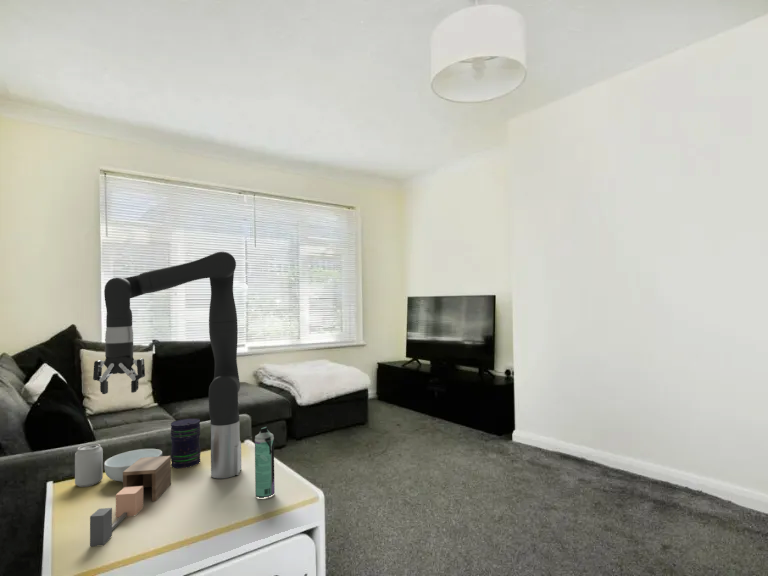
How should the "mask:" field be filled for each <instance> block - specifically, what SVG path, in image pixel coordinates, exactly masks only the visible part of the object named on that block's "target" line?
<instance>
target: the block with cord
mask: <svg viewBox="0 0 768 576" xmlns="http://www.w3.org/2000/svg"><path fill="white" fill-rule="evenodd" d="M143 509H144V487H143V486H135V487H124V488H123V487H122V489H121V490H119V491H118V492H117V493H116V494H115V518H117V519H116V520H115V521H114V522H113V507H105V508H104V507H103V508H98V509H97V510H96V511H95V512H94V513H92V514H91V515H90V516H89V547H90V546H91V547H98V546H97V545H103V546H104V545H105V544H106V543H108V541H109V540H110V539H111V538H112V537H113V531H114V529H115V528H116V527H117V526H118V525H120V524H121V522H122V521H124V519H125V518H126V516H127V517H135V516H134V515H136V514H137V513H138V512H139V513H140V512H141V511H142V510H143ZM139 513H138V514H139ZM138 514H137V515H138ZM137 515H136V516H137ZM111 536H112V537H111ZM110 537H111V538H110Z"/></svg>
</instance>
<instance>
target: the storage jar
mask: <svg viewBox="0 0 768 576" xmlns="http://www.w3.org/2000/svg"><path fill="white" fill-rule="evenodd" d="M200 436H201V420H200V418H196V417H195V418H193V417H192V418H189V417H188V418H181V419H177V420H174V421H171V422H170V440H171V450H170V456H171V466H172V467H171V468H173V467H174V468H173V469H185V468H186V467H187V468H191V467H194V466H193V465H195V466H197V465H198V464H200V463H201V446H200ZM199 462H200V463H199ZM196 464H197V465H196ZM190 466H191V467H190Z"/></svg>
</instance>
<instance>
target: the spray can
mask: <svg viewBox="0 0 768 576" xmlns="http://www.w3.org/2000/svg"><path fill="white" fill-rule="evenodd" d="M274 439H275V437H274V434H273V433H271V432H270V430H268V427H267V426H262V427H261V428H260V431H259V433H258V434H256V435H255V436H254V467H255V468H254V473H255V474H254V476H255V477H254V479H255V481H254V482H255V484H254V485H255V487H254V488H255V493H254V494H255V498H256V497H259V498H264V497H269V496H271V495H273V494H274V493H275V490H276V489H275V440H274ZM275 494H276V493H275Z"/></svg>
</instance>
